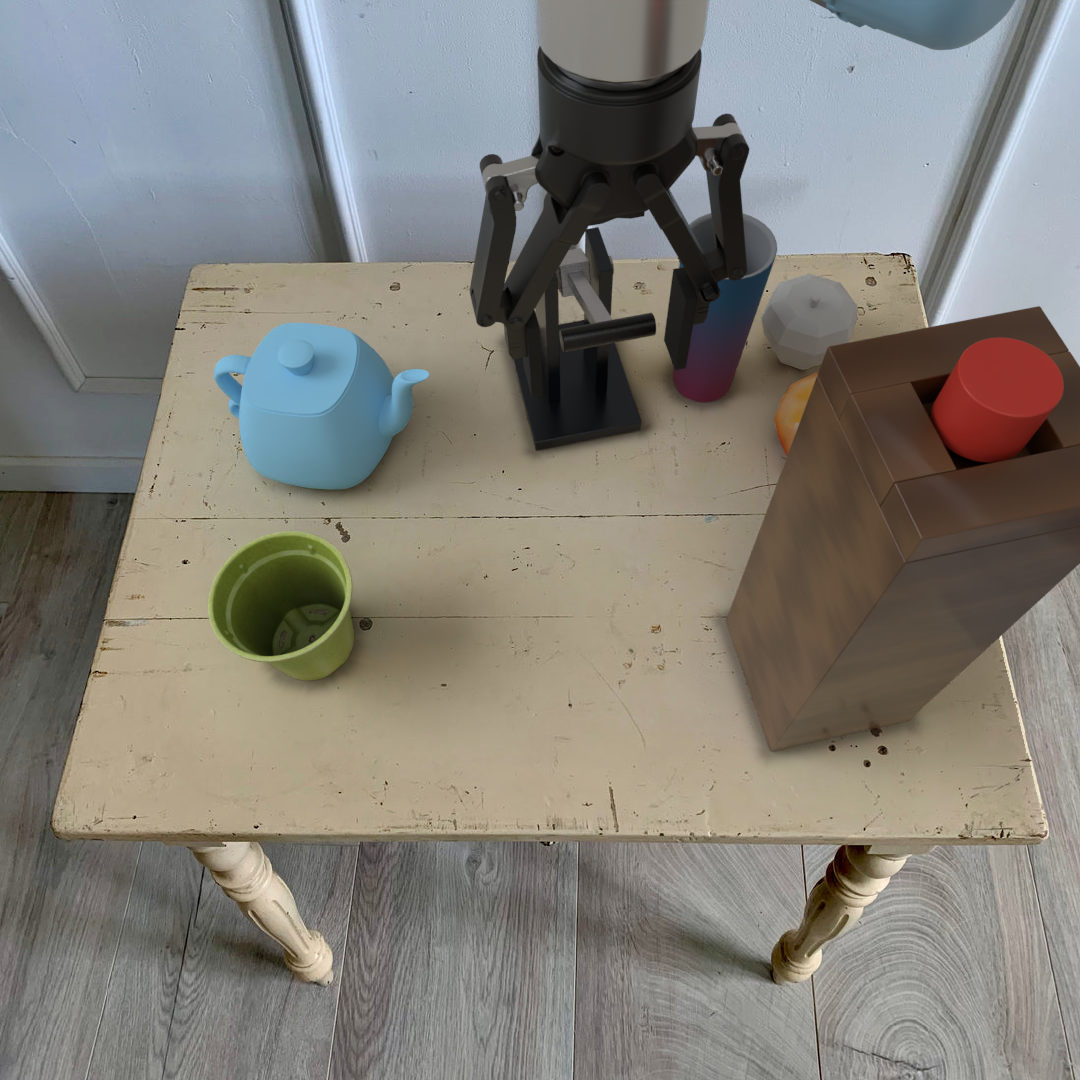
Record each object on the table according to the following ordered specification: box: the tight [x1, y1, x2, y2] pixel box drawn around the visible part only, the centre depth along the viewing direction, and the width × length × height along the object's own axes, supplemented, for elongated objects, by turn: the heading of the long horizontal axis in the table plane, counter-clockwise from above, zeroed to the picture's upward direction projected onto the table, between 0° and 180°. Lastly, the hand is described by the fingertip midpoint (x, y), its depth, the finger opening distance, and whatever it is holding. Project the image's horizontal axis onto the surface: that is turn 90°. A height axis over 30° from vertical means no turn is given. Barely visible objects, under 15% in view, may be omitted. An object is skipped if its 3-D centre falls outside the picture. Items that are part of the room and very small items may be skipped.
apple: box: [760, 273, 858, 371], centre depth 74 cm, size 8×8×7 cm
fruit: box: [773, 372, 818, 457], centre depth 70 cm, size 8×8×8 cm
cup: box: [672, 212, 778, 403], centre depth 70 cm, size 7×7×15 cm
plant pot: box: [207, 530, 355, 681], centre depth 62 cm, size 9×9×9 cm
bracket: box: [511, 226, 643, 451], centre depth 70 cm, size 12×9×15 cm
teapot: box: [213, 322, 430, 491], centre depth 70 cm, size 13×11×18 cm
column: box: [725, 305, 1080, 752], centre depth 50 cm, size 10×10×30 cm
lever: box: [556, 247, 657, 352], centre depth 61 cm, size 13×6×2 cm, turn 12°
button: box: [931, 338, 1064, 463], centre depth 36 cm, size 4×4×3 cm
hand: (604, 367), depth 60 cm, fingers open, 9 cm apart
